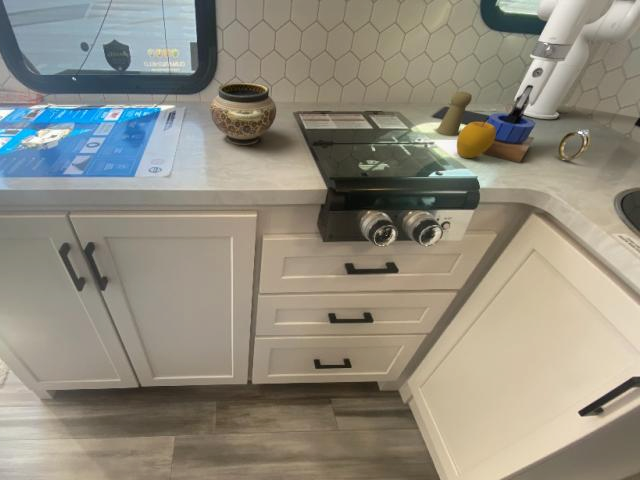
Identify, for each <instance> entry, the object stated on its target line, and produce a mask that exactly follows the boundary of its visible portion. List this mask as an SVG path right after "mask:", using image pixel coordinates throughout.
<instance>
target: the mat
mask: <svg viewBox="0 0 640 480" xmlns="http://www.w3.org/2000/svg"><path fill="white" fill-rule="evenodd" d="M449 108H450V106H444V107H443V108H442V109H440V110H439V111H437V112H436V113H434V114H433V115H432V118H436V119H440V120H443V119H444V117H445V115H446V113H447V111H448V109H449ZM489 117H490V115H489V114H483V113H478V112H473V111H468V110H465V112H464V115H463V118H462V121H461V125H465V126H466V125H468V124H469V123H471V122H486V121H487V120H488V119H489Z"/></svg>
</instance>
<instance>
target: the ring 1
mask: <svg viewBox="0 0 640 480" xmlns="http://www.w3.org/2000/svg"><path fill="white" fill-rule="evenodd" d="M509 114H510V113H505V112H496V113H491V114H490V115H489V117H488V118H487V120H486V123H489V124H492V125H493V126H494V127H495V129H496V137H495V139H497V140H501V141H507V142H524V141H526V139H527V138H528V136H529V137H530V135H531V133H532V131H533V129H534V128H535V126H536V122H535V121H534V120H532V119H531V118H528V117H527V116H526V117H525V116H524V115H523V116H522V117H521V119H520V121H519V123H518V124H512V123H508V122H505V120H506V119H507V117H508V115H509Z"/></svg>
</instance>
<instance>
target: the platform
mask: <svg viewBox="0 0 640 480" xmlns="http://www.w3.org/2000/svg"><path fill="white" fill-rule="evenodd" d="M534 139H535V137H533V136H530V135H529V136H528V138H527V139H526V141H524V142H507V141H501V140H497V139H495V140H494V142H493V144H492V145H491V146H490V147H489V148H488V149H487V150H486V151H485V152H483V153H482V154H484V155H488V156H492V157H495V158H500V159H504V160H508V161H511V162H515V163H521V161H522V160H523V158H524V156H525V155H526V153H527V151H528V150H529V148H530V146H531V144H532V142H533V140H534Z"/></svg>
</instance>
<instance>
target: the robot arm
mask: <svg viewBox="0 0 640 480" xmlns="http://www.w3.org/2000/svg"><path fill="white" fill-rule="evenodd" d="M537 18H538V19H539V20H541V21H545V22H546V24H545V25H544V27H543V29H542V31H541V34H540V35H539V37H538V39H537V41H536V42H535V45H534V47H533V49H532V51H531V53H530V55H529V57H530V58H531V59H533V60H532V62H531V64H530V66H529V67H528V69H527V71H526V73H525V75H524V77H523V79H522V81H521V84H520V86H519V88H518V90H517V92H516V93H515V97H514V98H513V102H514V105H513V107H512V109H511V111H510V113H508V114H509V115H508V117H507V119H506V120H505V122H508V123H512V124H518V123H519V121H520V119H521V117H522V116H523V117H524V116H526V117H530V118H533V119H540V120H556V119H557V118H558V117H559V116H560V113H559V112H558V111H557V110H558V109H559V107H560V105H561V103H562V102H563V100H564V98H565V97H566V95H567V94H568V92H569V90H570V89H571V87H572V86H573V84H574V82H575V81H576V79H577V77H578V76H579V75H580V72H581V71H582V69H583V68H584V66H585V65H586V63H587V61H588V59H589V55H590V50H589V45H588V41H596V42H597V41H598V42H605V43H624V42H626V41H627V40H630V38H631V37H633V36H634V35H635V33H636V32H637V31H638V29H639V28H640V0H540V2H539V5H538V8H537Z"/></svg>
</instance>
